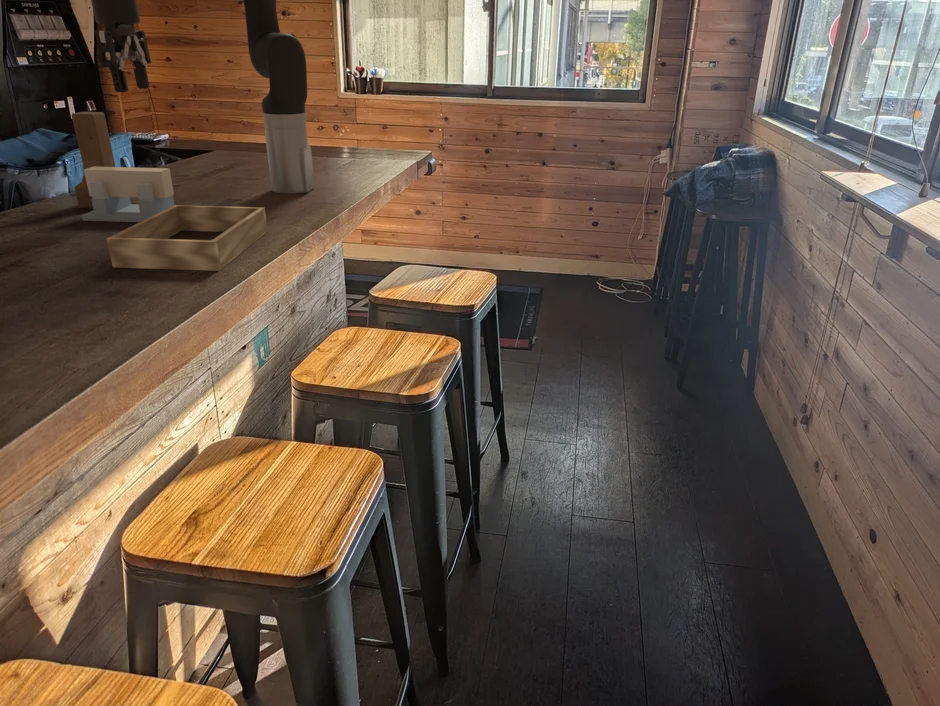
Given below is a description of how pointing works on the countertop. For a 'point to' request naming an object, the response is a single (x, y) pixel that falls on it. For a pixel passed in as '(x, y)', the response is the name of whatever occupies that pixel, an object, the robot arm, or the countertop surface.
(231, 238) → the tray frame
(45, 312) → the countertop surface
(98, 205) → the rack
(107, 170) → the clay strip
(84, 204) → the wooden block
